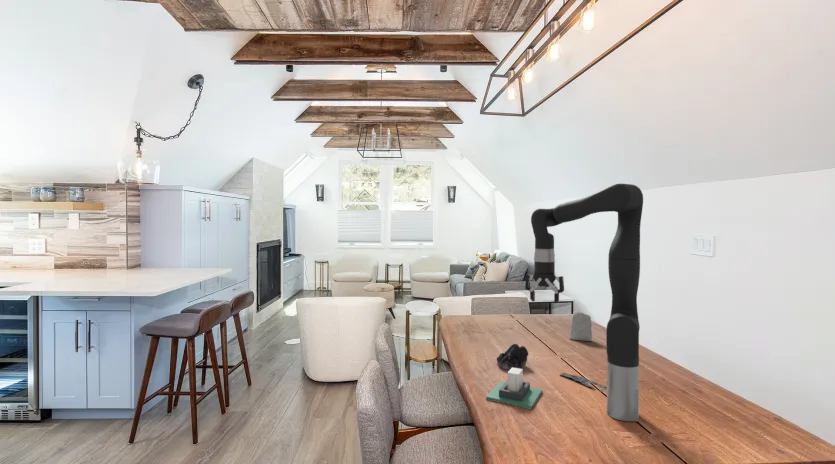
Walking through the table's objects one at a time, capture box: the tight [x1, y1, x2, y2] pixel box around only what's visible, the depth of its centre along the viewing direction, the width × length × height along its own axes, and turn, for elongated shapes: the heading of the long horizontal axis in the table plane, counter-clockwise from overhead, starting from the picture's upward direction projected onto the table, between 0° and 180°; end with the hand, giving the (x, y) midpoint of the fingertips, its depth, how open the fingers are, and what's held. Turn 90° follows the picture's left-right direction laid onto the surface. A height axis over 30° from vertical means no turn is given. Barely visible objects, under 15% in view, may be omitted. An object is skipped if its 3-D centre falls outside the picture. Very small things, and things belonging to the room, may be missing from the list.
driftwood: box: [559, 371, 607, 393], centre depth 161 cm, size 21×7×2 cm, turn 27°
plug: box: [507, 367, 524, 392], centre depth 149 cm, size 4×7×8 cm, turn 152°
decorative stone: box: [569, 310, 593, 342], centre depth 219 cm, size 11×6×15 cm, turn 58°
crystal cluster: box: [496, 343, 529, 371], centre depth 180 cm, size 13×14×10 cm
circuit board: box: [485, 379, 543, 410], centre depth 149 cm, size 16×16×4 cm
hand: (544, 302), depth 159 cm, fingers open, 8 cm apart
